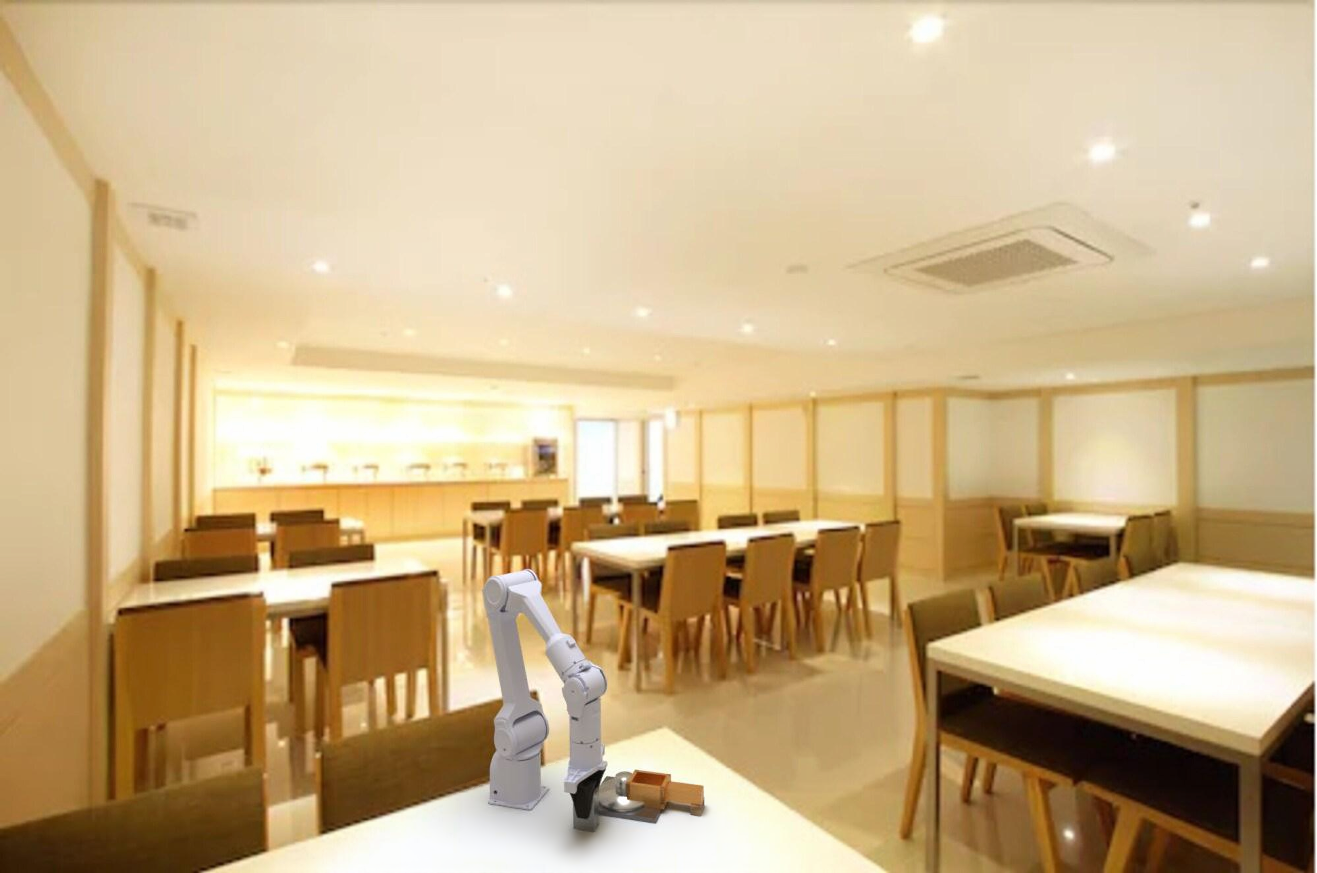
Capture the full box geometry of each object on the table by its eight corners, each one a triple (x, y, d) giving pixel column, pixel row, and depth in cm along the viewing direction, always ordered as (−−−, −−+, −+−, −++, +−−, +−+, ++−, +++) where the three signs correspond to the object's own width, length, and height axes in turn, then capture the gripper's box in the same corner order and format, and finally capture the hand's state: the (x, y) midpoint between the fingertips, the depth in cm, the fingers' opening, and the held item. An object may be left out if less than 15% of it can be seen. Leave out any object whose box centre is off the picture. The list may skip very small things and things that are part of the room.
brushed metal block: (573, 828, 111) (572, 789, 111) (578, 820, 113) (578, 782, 113) (594, 831, 110) (593, 792, 110) (598, 824, 112) (598, 785, 112)
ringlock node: (584, 812, 116) (584, 787, 116) (606, 779, 127) (606, 757, 128) (695, 829, 110) (695, 803, 110) (708, 793, 122) (708, 770, 122)
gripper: (590, 758, 104) (591, 840, 104) (619, 722, 118) (620, 794, 117) (552, 753, 106) (553, 833, 105) (585, 718, 120) (585, 789, 119)
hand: (586, 812), depth 112 cm, fingers closed on brushed metal block, 2 cm apart
